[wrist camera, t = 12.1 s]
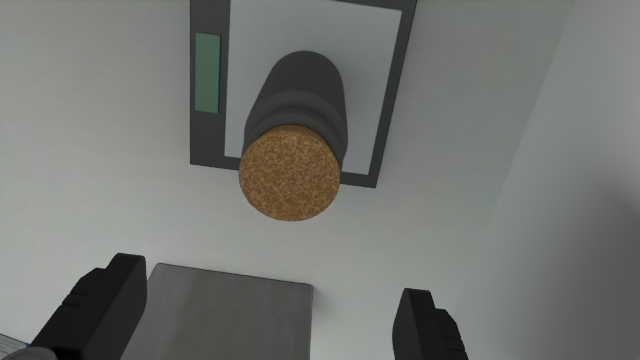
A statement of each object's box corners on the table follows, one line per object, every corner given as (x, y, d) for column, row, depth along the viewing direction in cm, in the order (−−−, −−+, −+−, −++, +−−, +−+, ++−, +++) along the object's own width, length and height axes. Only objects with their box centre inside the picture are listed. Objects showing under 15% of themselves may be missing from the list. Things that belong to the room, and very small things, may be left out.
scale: (198, -46, 32) (187, -46, 30) (414, -13, 33) (421, -10, 30) (196, 153, 39) (187, 167, 37) (373, 177, 40) (376, 192, 38)
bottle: (357, 100, 34) (375, 197, 21) (294, 137, 36) (273, 250, 22) (317, 33, 32) (308, 93, 18) (251, 76, 33) (199, 160, 20)
